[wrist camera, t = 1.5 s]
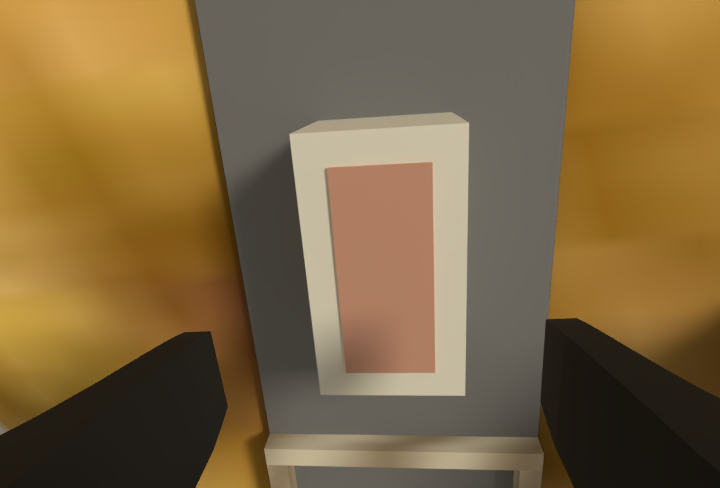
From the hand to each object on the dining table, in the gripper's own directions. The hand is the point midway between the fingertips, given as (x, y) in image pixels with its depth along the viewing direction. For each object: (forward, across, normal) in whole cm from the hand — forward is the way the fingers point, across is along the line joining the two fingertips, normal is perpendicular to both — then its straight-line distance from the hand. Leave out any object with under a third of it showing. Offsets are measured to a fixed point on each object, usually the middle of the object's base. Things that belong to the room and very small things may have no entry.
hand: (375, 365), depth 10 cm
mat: (+10, 0, +6) cm, 12 cm away
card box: (+9, 0, 0) cm, 9 cm away
